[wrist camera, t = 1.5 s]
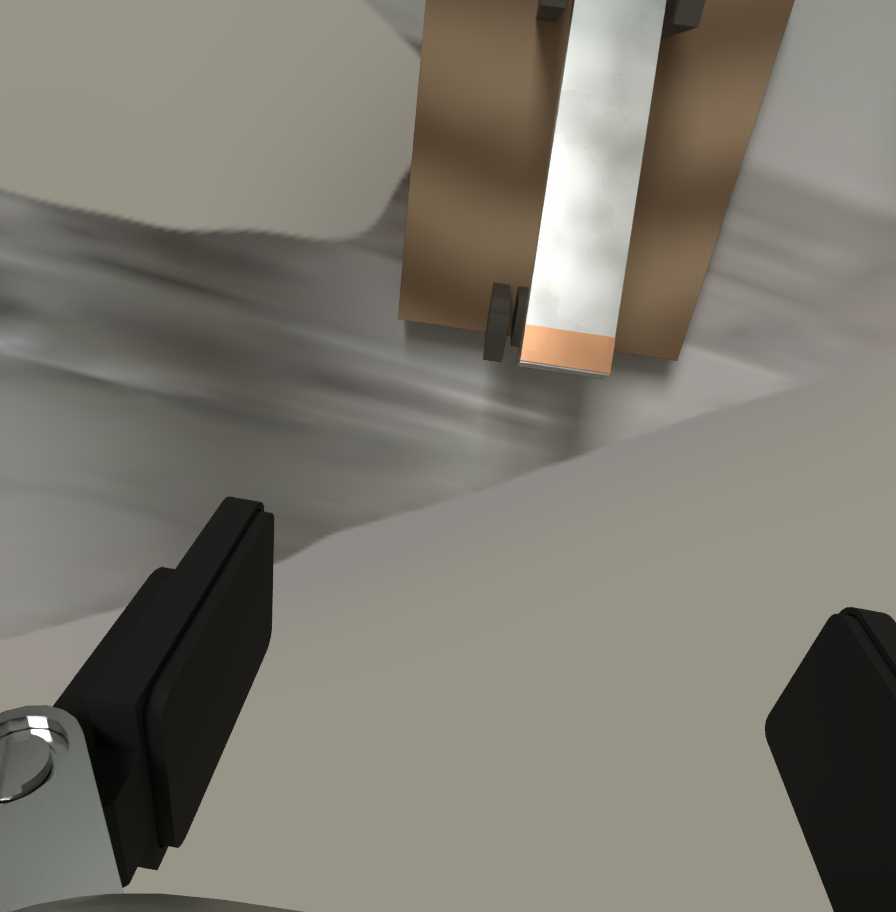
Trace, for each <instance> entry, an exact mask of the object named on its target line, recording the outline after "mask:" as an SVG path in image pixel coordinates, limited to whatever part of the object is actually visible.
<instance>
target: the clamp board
mask: <svg viewBox="0 0 896 912" xmlns="http://www.w3.org/2000/svg"><path fill="white" fill-rule="evenodd" d="M572 1H573V0H426V6H425V17H424V28H423V40H422V51H421V62H420V75H419V85H418V86H419V87H418V97H417V108H416V119H415V131H414V143H413V154H412V164H411V176H410V187H409V199H408V210H407V221H406V233H405V244H404V255H403V267H402V278H401V289H400V301H399V312H398V319H401V320H408V321H414V322H421V323H428V324H434V325H441V326H448V327H454V328H461V329H468V330H474V331H481V332H486V336H485V346H484V356H483V360H489V361H496V362H502V358H503V352H504V347H505V341H506V336H507V335H508V336H511V346H516V347H520V342H521V335H522V330H523V324H524V317H525V310H526V304H527V297H528V291H529V284H530V277H531V271H532V264H533V258H534V251H535V245H536V238H537V231H538V225H539V218H540V212H541V205H542V198H543V192H544V185H545V179H546V172H547V165H548V159H549V152H550V146H551V139H552V133H553V126H554V119H555V113H556V106H557V100H558V93H559V86H560V80H561V73H562V67H563V60H564V53H565V47H566V40H567V34H568V27H569V20H570V14H571V7H572ZM794 1H795V0H666V6H665V13H664V19H663V26H662V32H661V39H660V46H659V52H658V59H657V65H656V72H655V78H654V85H653V92H652V98H651V105H650V111H649V118H648V124H647V131H646V137H645V144H644V151H643V157H642V164H641V170H640V177H639V183H638V190H637V197H636V203H635V210H634V216H633V223H632V229H631V236H630V243H629V249H628V256H627V262H626V269H625V275H624V282H623V289H622V295H621V302H620V308H619V315H618V321H617V328H616V334H615V338H616V339H615V345H614V351H615V352H622V353H628V354H635V355H642V356H649V357H655V358H662V359H669V360H675V361H677V359H678V356H679V353H680V350H681V347H682V344H683V341H684V338H685V335H686V332H687V329H688V326H689V322H690V319H691V316H692V313H693V310H694V307H695V304H696V301H697V298H698V295H699V292H700V289H701V286H702V283H703V280H704V277H705V273H706V270H707V267H708V264H709V261H710V258H711V255H712V252H713V249H714V246H715V243H716V240H717V237H718V234H719V231H720V228H721V224H722V221H723V218H724V215H725V212H726V209H727V206H728V203H729V200H730V197H731V194H732V191H733V188H734V185H735V182H736V179H737V175H738V172H739V169H740V166H741V163H742V160H743V157H744V154H745V151H746V148H747V145H748V142H749V139H750V136H751V133H752V130H753V126H754V123H755V120H756V117H757V114H758V111H759V108H760V105H761V102H762V99H763V96H764V93H765V90H766V87H767V84H768V81H769V77H770V74H771V71H772V68H773V65H774V62H775V59H776V56H777V53H778V50H779V47H780V44H781V41H782V38H783V35H784V32H785V28H786V25H787V22H788V19H789V16H790V13H791V10H792V7H793V4H794Z"/></svg>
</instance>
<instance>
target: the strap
mask: <svg viewBox="0 0 896 912" xmlns="http://www.w3.org/2000/svg"><path fill="white" fill-rule="evenodd" d="M665 6H666V0H573V1H572V7H571V14H570V20H569V27H568V34H567V40H566V47H565V53H564V60H563V67H562V73H561V80H560V86H559V93H558V100H557V106H556V113H555V119H554V126H553V133H552V139H551V146H550V152H549V159H548V165H547V172H546V179H545V185H544V192H543V198H542V205H541V212H540V218H539V225H538V231H537V238H536V245H535V251H534V258H533V264H532V271H531V277H530V284H529V291H528V297H527V304H526V310H525V317H524V324H523V330H522V335H521V342H520V349H519V355H518V362H517V366H520V367H526V368H533V369H540V370H546V371H553V372H560V373H566V374H573V375H580V376H586V377H593V378H600V379H603V378H605V377H607V376H609V374H610V372H611V365H612V359H613V352H614V345H615V339H616V338H615V334H616V328H617V321H618V315H619V308H620V302H621V295H622V289H623V282H624V275H625V269H626V262H627V256H628V249H629V243H630V236H631V229H632V223H633V216H634V210H635V203H636V197H637V190H638V183H639V177H640V170H641V164H642V157H643V151H644V144H645V137H646V131H647V124H648V118H649V111H650V105H651V98H652V92H653V85H654V78H655V72H656V65H657V59H658V52H659V46H660V39H661V32H662V26H663V19H664V13H665Z"/></svg>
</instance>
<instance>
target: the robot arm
mask: <svg viewBox="0 0 896 912" xmlns="http://www.w3.org/2000/svg"><path fill="white" fill-rule="evenodd" d="M273 551H274V515H273V514H272V513H268V512H264V506H263V503H261V502H257V501H251V500H246V499H240V498H234V497H226V498H225V499H224V500H223V502H222V503H221V505H220V506H219V507H218V509H217V510H216V512H215V513H214V515H213V516H212V517H211V519H210V520H209V522H208V523H207V525H206V526H205V527H204V529H203V530H202V532H201V533H200V535H199V536H198V537H197V539H196V540H195V542H194V543H193V545H192V546H191V547H190V549H189V550H188V552H187V553H186V555H185V556H184V557H183V559H182V560H181V562H180V563H179V565H178V566H177V567H176V569H170V568H165V567H160V568H158V569H156V570H155V571H154V572H153V573H152V574H151V575H150V576H149V577H148V579H147V580H146V581H145V583H144V584H143V586H142V587H141V588H140V590H139V591H138V592H137V594H136V595H135V596H134V598H133V599H132V600H131V602H130V603H129V604H128V606H127V607H126V608H125V610H124V611H123V613H122V614H121V615H120V617H119V618H118V619H117V621H116V622H115V623H114V625H113V626H112V627H111V629H110V630H109V631H108V633H107V634H106V636H105V637H104V638H103V639H102V641H101V642H100V644H99V645H98V646H97V648H96V649H95V650H94V652H93V653H92V654H91V656H90V657H89V658H88V660H87V661H86V662H85V664H84V665H83V666H82V668H81V669H80V670H79V672H78V673H77V674H76V676H75V677H74V679H73V680H72V681H71V683H70V684H69V685H68V687H67V688H66V689H65V691H64V692H63V693H62V695H61V696H60V697H59V699H58V700H57V701H56V703H55V704H54V705H53V707H51V706H47V705H44V706H24V707H20V708H16V709H12V710H7V711H4V712H2V713H0V912H301V911H295V910H288V909H282V908H275V907H268V906H262V905H254V904H248V903H242V902H235V901H228V900H221V899H210V898H200V897H190V896H179V895H169V894H124V893H123V889H122V888H123V887H125V886H127V885H128V884H129V883H130V882H131V879H132V877H133V875H134V873H135V871H136V869H137V867H142V868H147V869H153V870H158V868H159V866H160V864H161V861H162V859H163V857H164V855H165V853H166V851H167V848H168V846H171V847H176V848H179V847H180V846H181V844H182V843H183V841H184V839H185V837H186V835H187V833H188V831H189V829H190V826H191V824H192V822H193V819H194V817H195V815H196V812H197V810H198V808H199V806H200V803H201V801H202V799H203V796H204V793H205V792H206V789H207V787H208V785H209V783H210V780H211V778H212V776H213V773H214V771H215V769H216V766H217V764H218V762H219V759H220V757H221V755H222V753H223V750H224V748H225V746H226V743H227V741H228V739H229V736H230V734H231V732H232V730H233V727H234V725H235V723H236V721H237V718H238V716H239V714H240V711H241V709H242V707H243V704H244V702H245V700H246V698H247V695H248V693H249V690H250V688H251V686H252V683H253V681H254V679H255V677H256V674H257V672H258V670H259V668H260V665H261V663H262V661H263V658H264V656H265V654H266V651H267V649H268V645H269V642H270V638H271V631H272V597H273ZM765 735H766V739H767V742H768V745H769V747H770V750H771V752H772V755H773V757H774V760H775V763H776V765H777V768H778V770H779V773H780V775H781V778H782V780H783V783H784V786H785V788H786V791H787V793H788V796H789V798H790V801H791V803H792V806H793V808H794V811H795V813H796V816H797V819H798V821H799V824H800V826H801V829H802V831H803V834H804V837H805V839H806V842H807V844H808V847H809V849H810V852H811V854H812V857H813V860H814V862H815V864H816V867H817V870H818V872H819V875H820V877H821V880H822V883H823V885H824V888H825V890H826V893H827V895H828V898H829V900H830V903H831V905H832V908H833V911H834V912H896V622H895V621H894V620H893V619H892V618H891V617H890V616H889V615H887V614H885V613H882V612H875V611H870V610H864V609H859V608H853V607H847V608H845V609H843V610H842V611H841V612H840V613H839V614H834V615H832V616H831V617H830V618H829V619H828V620H827V622H826V624H825V625H824V627H823V628H822V630H821V632H820V633H819V635H818V637H817V638H816V640H815V641H814V643H813V644H812V646H811V648H810V649H809V651H808V652H807V654H806V656H805V657H804V659H803V661H802V662H801V664H800V665H799V667H798V669H797V670H796V672H795V673H794V675H793V677H792V678H791V680H790V682H789V683H788V685H787V686H786V688H785V689H784V691H783V693H782V694H781V696H780V697H779V699H778V701H777V702H776V704H775V705H774V707H773V709H772V710H771V712H770V714H769V715H768V717H767V719H766V724H765Z"/></svg>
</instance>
